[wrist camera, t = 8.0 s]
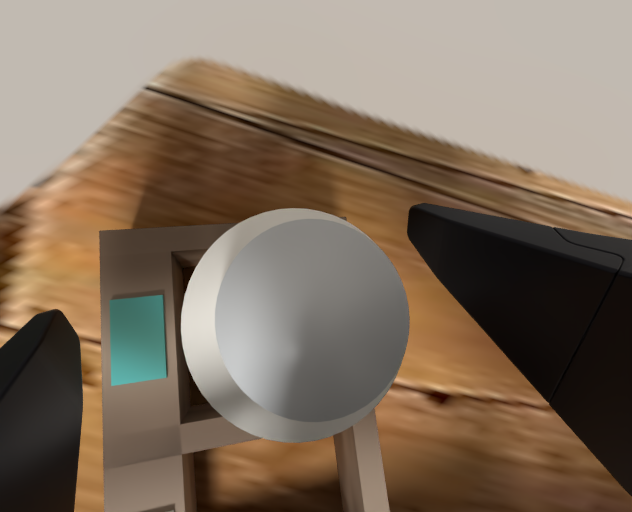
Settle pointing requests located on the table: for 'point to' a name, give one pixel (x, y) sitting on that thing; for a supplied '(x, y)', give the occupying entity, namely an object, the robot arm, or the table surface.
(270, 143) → the table surface
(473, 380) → the table surface
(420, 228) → the robot arm
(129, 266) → the socket block
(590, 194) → the table surface
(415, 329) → the table surface
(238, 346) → the plug
